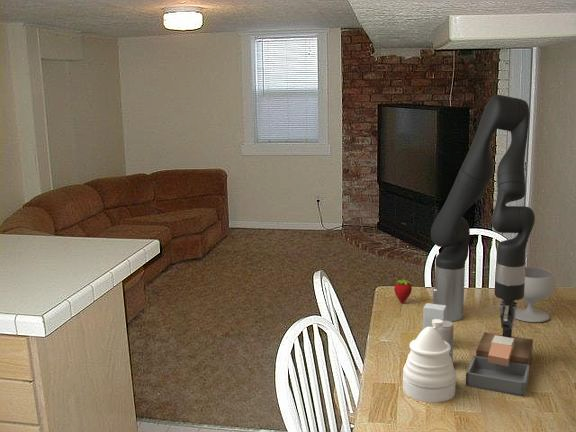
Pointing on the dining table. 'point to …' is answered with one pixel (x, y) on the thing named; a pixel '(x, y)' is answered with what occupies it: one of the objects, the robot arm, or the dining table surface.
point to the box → (498, 376)
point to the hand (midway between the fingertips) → (506, 340)
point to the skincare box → (433, 313)
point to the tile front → (500, 354)
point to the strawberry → (402, 290)
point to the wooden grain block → (519, 352)
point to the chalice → (536, 294)
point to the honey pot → (429, 367)
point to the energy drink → (447, 334)
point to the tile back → (503, 341)
